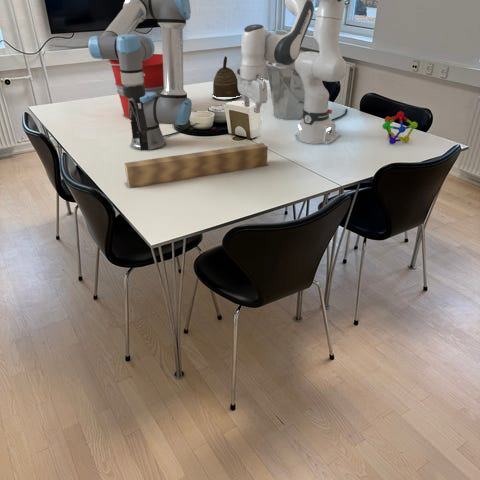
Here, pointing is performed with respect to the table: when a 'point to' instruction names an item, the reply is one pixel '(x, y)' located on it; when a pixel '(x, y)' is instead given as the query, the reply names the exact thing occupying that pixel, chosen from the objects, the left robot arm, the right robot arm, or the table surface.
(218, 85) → the bell
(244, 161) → the beam
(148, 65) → the bucket
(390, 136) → the educational toy
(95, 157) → the table surface
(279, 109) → the bucket
